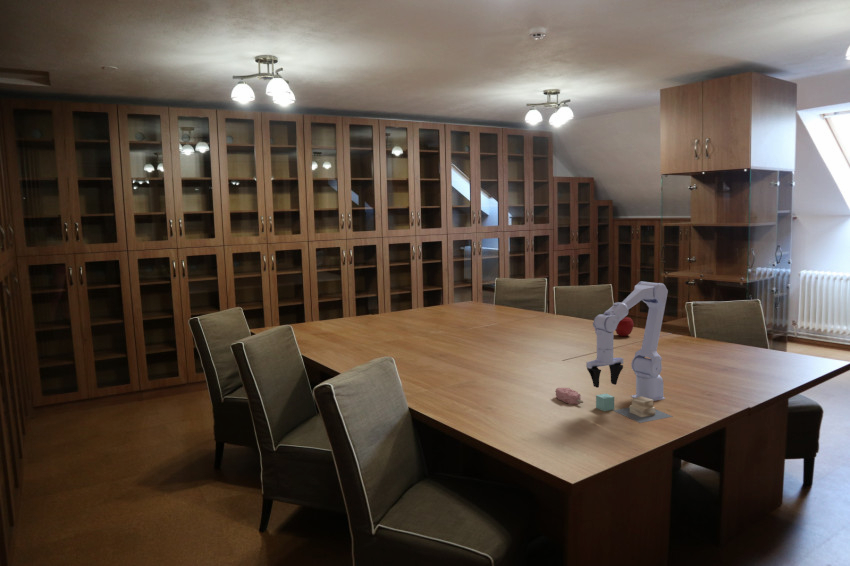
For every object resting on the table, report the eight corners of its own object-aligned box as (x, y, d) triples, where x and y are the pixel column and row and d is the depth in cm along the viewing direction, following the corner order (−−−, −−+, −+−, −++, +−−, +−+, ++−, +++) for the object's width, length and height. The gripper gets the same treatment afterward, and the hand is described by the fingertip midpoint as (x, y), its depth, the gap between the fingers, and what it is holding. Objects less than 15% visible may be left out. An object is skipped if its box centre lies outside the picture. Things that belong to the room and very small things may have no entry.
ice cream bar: (574, 398, 214) (552, 387, 228) (574, 409, 215) (552, 397, 229) (589, 395, 217) (565, 384, 230) (589, 406, 217) (566, 395, 231)
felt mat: (644, 405, 215) (644, 404, 215) (673, 417, 202) (673, 416, 202) (612, 411, 210) (612, 410, 210) (640, 423, 197) (640, 422, 197)
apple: (630, 338, 326) (630, 317, 324) (611, 337, 332) (611, 316, 330) (635, 334, 335) (635, 314, 334) (616, 333, 341) (616, 313, 339)
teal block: (606, 406, 216) (606, 393, 215) (614, 410, 212) (614, 396, 211) (596, 408, 214) (596, 395, 214) (603, 412, 210) (603, 398, 209)
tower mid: (641, 403, 209) (641, 396, 209) (653, 406, 205) (653, 399, 205) (631, 405, 207) (631, 399, 207) (643, 409, 203) (643, 402, 202)
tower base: (643, 409, 210) (643, 402, 210) (655, 414, 205) (655, 407, 204) (629, 412, 208) (629, 405, 208) (641, 417, 202) (641, 410, 202)
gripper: (614, 343, 217) (614, 379, 218) (581, 348, 211) (581, 385, 213) (627, 347, 210) (627, 384, 211) (593, 352, 205) (593, 390, 206)
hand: (605, 385), depth 212 cm, fingers open, 7 cm apart
